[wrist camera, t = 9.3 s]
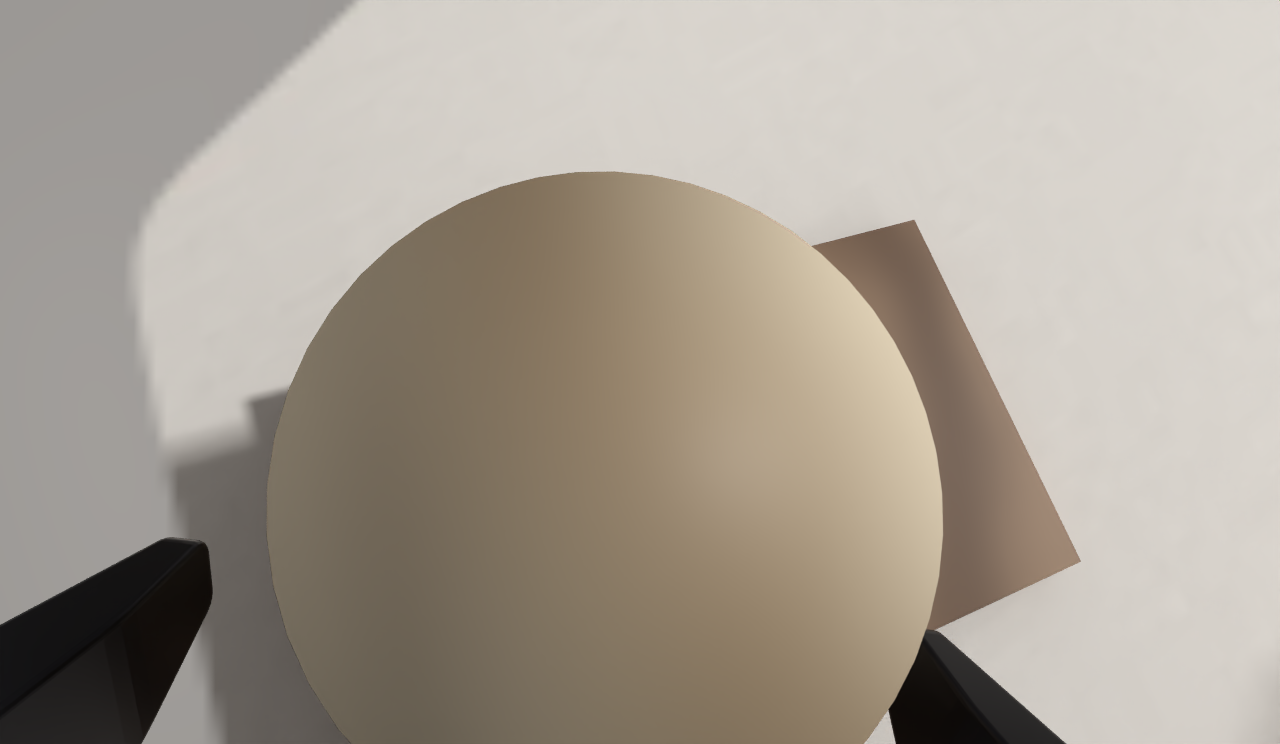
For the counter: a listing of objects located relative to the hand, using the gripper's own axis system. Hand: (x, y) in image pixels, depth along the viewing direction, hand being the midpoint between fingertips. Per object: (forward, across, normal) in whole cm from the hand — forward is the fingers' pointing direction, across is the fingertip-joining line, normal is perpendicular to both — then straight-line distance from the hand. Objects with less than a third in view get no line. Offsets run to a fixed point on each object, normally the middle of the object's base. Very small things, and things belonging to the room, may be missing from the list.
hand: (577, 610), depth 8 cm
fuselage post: (+7, 0, +5) cm, 9 cm away
